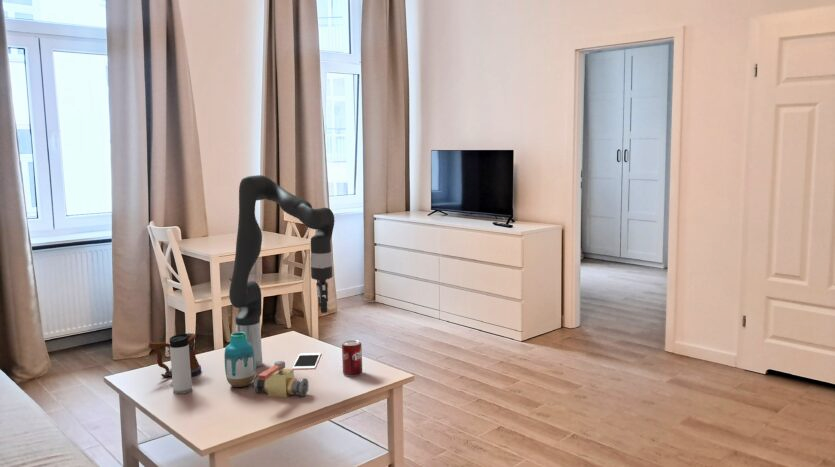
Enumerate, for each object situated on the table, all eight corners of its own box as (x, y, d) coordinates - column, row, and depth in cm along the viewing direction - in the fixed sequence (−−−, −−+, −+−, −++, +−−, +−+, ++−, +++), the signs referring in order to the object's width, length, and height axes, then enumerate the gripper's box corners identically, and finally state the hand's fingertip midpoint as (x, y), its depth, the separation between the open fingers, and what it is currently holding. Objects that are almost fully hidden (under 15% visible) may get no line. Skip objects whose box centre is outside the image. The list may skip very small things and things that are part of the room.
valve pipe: (253, 394, 229) (252, 369, 227) (262, 388, 234) (261, 363, 233) (301, 399, 224) (299, 373, 222) (308, 392, 229) (307, 367, 228)
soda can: (364, 370, 250) (363, 339, 249) (360, 377, 243) (359, 345, 241) (345, 370, 251) (344, 339, 249) (341, 377, 244) (339, 345, 242)
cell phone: (321, 354, 271) (321, 352, 271) (315, 370, 253) (314, 367, 253) (299, 355, 271) (299, 353, 271) (291, 370, 253) (291, 368, 253)
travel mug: (196, 387, 236) (192, 333, 233) (184, 394, 230) (180, 339, 227) (181, 386, 238) (177, 332, 235) (169, 392, 232) (165, 337, 229)
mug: (154, 384, 240) (150, 344, 238) (149, 375, 250) (145, 337, 248) (204, 374, 249) (201, 336, 247) (197, 366, 259) (195, 329, 257)
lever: (277, 365, 230) (277, 360, 230) (287, 366, 229) (286, 361, 229) (257, 379, 216) (257, 374, 216) (267, 380, 215) (266, 375, 215)
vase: (240, 378, 245) (236, 328, 242) (262, 382, 240) (259, 331, 237) (219, 388, 235) (216, 336, 233) (243, 392, 231) (239, 339, 228)
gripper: (309, 261, 239) (310, 305, 241) (312, 269, 225) (313, 315, 227) (330, 260, 240) (331, 303, 243) (334, 268, 226) (335, 313, 229)
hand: (322, 309), depth 235 cm, fingers open, 8 cm apart
